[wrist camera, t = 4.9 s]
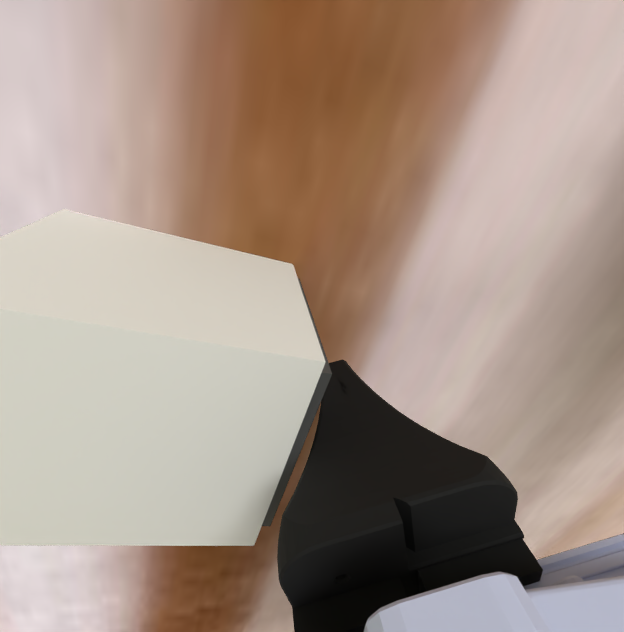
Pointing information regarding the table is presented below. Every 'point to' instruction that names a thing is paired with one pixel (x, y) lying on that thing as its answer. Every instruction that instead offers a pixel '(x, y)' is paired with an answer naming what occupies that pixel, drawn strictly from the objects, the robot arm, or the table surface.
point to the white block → (148, 386)
